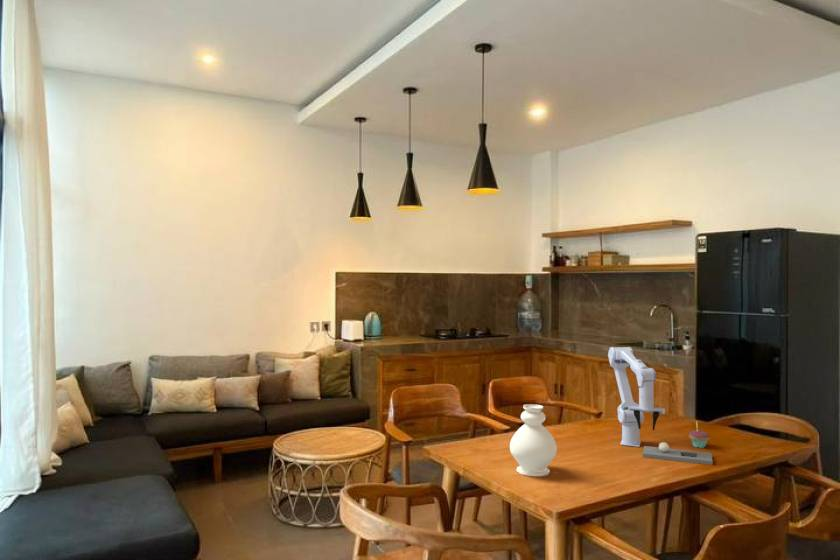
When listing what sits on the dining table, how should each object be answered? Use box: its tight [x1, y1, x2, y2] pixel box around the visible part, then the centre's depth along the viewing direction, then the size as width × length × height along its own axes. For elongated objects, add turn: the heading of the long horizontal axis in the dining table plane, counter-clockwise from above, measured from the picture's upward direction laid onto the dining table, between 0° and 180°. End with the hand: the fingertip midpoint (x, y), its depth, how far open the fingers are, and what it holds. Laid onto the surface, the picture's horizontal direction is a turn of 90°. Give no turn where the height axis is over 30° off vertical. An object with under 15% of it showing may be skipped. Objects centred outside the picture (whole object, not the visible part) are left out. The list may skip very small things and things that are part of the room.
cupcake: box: [688, 419, 710, 449], centre depth 259 cm, size 9×8×12 cm
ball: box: [658, 441, 670, 452], centre depth 246 cm, size 4×4×4 cm
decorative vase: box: [509, 403, 558, 477], centre depth 226 cm, size 18×18×25 cm
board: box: [642, 445, 714, 466], centre depth 244 cm, size 12×26×2 cm, turn 67°
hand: (646, 429), depth 248 cm, fingers open, 5 cm apart
